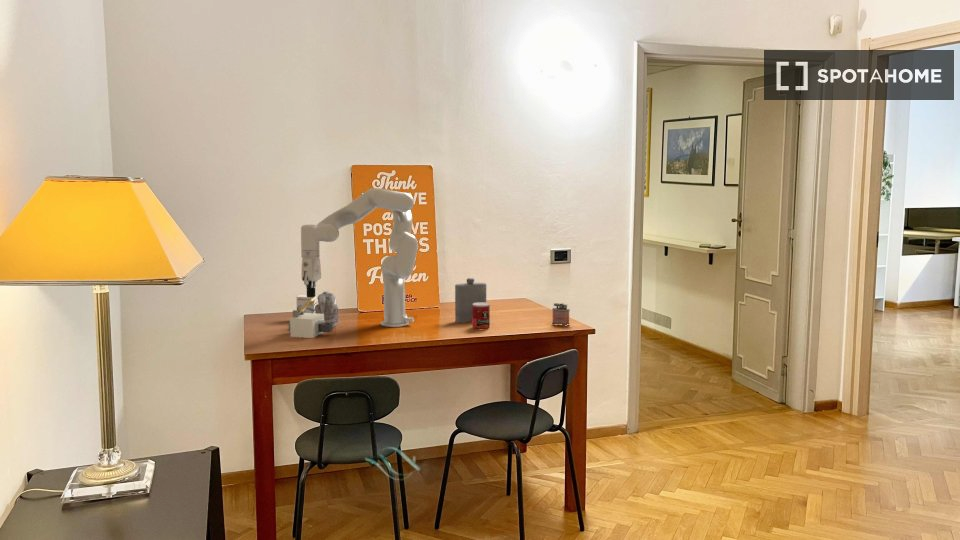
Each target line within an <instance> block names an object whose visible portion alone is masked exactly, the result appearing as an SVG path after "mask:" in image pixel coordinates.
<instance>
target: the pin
mask: <svg viewBox="0 0 960 540" xmlns="http://www.w3.org/2000/svg"><path fill="white" fill-rule="evenodd" d="M287 324H288V331H289V332H290V321H289V322H287ZM315 330H316V334H320V333H321V334H323V333H331V332H333V328H332V323H324V320H321V321H319V322H316V323H315ZM322 332H323V333H322ZM321 334H320V335H321Z"/></svg>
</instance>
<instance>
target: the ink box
mask: <svg viewBox="0 0 960 540" xmlns="http://www.w3.org/2000/svg"><path fill="white" fill-rule="evenodd" d="M317 297H318V295H317V294H315V297H307V294H299V295H297V296H296V310H299V308H301V307H302V306H303V305H304V304H305V303H306V302H307V301H308V300H310V299H312V298H314V299H315V301H314V302H313V303H312V304H311V305H310V306H308V307H307V308H306V309H305V310H304V313H315V308H314V304H315V302H316V301H317V302H318V299H317Z"/></svg>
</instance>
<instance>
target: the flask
mask: <svg viewBox="0 0 960 540" xmlns="http://www.w3.org/2000/svg"><path fill="white" fill-rule="evenodd" d="M454 298H455V299H454V305H455V306H454V310H455V311H454V313H455V314H454V315H455V317H454V319H455V320H454V321H455V323H457V324H464V323H463V322H465V323H472V305H473V303H477V302H485V303H487V283H485V282H475V278H474V277H469V278H466V282H465V283H456V284H455V286H454Z"/></svg>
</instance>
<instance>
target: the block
mask: <svg viewBox="0 0 960 540" xmlns="http://www.w3.org/2000/svg"><path fill="white" fill-rule="evenodd" d="M299 309H300V308H299ZM321 320H324V314H316V313H304V311H303V312H302V314H300V315H298V310H297V309H296V310H295V309H293V310H292V317H290V318H289V322H290V331H289V332H290V338H302V337H303V338H304V339H305V338H306V339H314V338H315V337H317V336H319V335H321V334H323V333H324V332H322V333H320V334H316V330H315V323H316V322H319V321H321ZM303 338H302V339H303Z"/></svg>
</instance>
